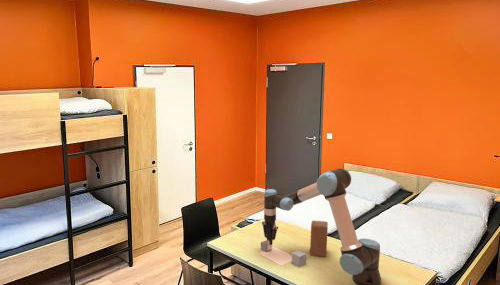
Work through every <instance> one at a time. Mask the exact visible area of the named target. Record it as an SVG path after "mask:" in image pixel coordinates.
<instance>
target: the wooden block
mask: <svg viewBox="0 0 500 285" xmlns="http://www.w3.org/2000/svg"><path fill="white" fill-rule="evenodd" d="M328 226H329V224H328V221H324V220H322V221H321V220H311V225H310V243H309V244H310V246H309V247H310V248H309V251H310V252H309V255H310V256H315V257H323V258H326V256H327V248H328V245H327V244H328Z"/></svg>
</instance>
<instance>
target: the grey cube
mask: <svg viewBox="0 0 500 285" xmlns="http://www.w3.org/2000/svg"><path fill="white" fill-rule="evenodd" d="M260 250H261V251H262V252H264V251H265V252H268V251H270V250H272V249H270V250H268V249H267V239H266V240H264V241H261V242H260Z"/></svg>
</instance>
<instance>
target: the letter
mask: <svg viewBox="0 0 500 285" xmlns="http://www.w3.org/2000/svg"><path fill="white" fill-rule="evenodd" d="M258 254H259V255H260V256H262V257H264V258H266V259H268V260H270V261H272V262H274V263H276V264H277V265H279V266H283V265H286V264H288V263H290V262H291V263H292V254H289V253H288V252H285V251H283V250H282V249H280V248H277V247H276V246H273V247H272V250H270V251H268V252H265V251H261V252H259V253H258Z"/></svg>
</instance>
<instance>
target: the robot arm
mask: <svg viewBox="0 0 500 285" xmlns="http://www.w3.org/2000/svg"><path fill="white" fill-rule="evenodd" d="M351 184H352V175H351V174H350V172H349V171H348V170H347V169H345V168H336V169H333V170H330V171H326V172H324V173H322V174H320V175H319V177H318V178H317V181H316V182H315V183H314V182H313V183H312V184H310V185H308V186H307V185H306V186H305V187H303V188H301V189H298V190H296V191H293V192H291V193H289V194H285V195H279V194H278V192H277V190H276V189H273V188H268V189H265V190H264V197H263V199H264V200H263V201H264V202H263V204H264V206H263V208H264V209H263V213H264V214H263V221H262V222H261V224H262V229H263V235H264V238H265V239H266V240H267V249H268V250H270V249H272V248H273V241H274V240H276V235H277V232H278V229H279V227H278V226H277V225H276V220H277V209H280V210H282V211H288V212H289V211H292V209H293V208H294V206H296V205H299V204H301V203H304V202H306V201H308V200H310V199H313V198H315V197H318V196H323V198H324V199H325V200H326V201H328V203H329V206H330V209H331V213H332V216H333V219H334V223H335V226H336V230H337V233H338V237H339V240H340V242H341V247H340V249H339V250H340V253H341V256H340V258H339V265H340V266H341V269H342V270H343V271H344V272H346V273H347V274H349V276H350V275H352V280H353V282H354V283H355V284H356V285H381V284H382V277H381V273H380V269H379V268H380V267H379V266H380V256H381V255H380V254H381V253H380V252H381V244H380V242H378V241H376V240H374V239H370V238H359V239H358V236H357V233H356V230H355V226H354V223H353V220H352V217H351V213H350V210H349V207H348V204H347V200H346V195H347V190H346V189H348V188H349V186H350V185H351Z"/></svg>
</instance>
